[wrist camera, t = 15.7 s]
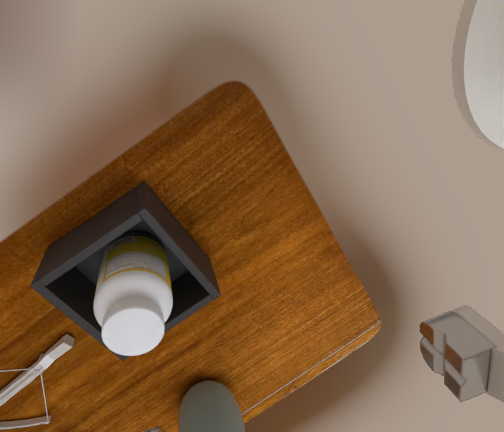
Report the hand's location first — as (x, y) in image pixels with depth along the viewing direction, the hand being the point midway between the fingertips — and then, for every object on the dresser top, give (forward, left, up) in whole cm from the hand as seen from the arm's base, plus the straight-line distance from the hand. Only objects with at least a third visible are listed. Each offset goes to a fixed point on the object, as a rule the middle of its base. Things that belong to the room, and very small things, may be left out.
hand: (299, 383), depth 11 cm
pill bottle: (+9, +9, -28) cm, 31 cm away
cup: (+8, +33, -29) cm, 45 cm away
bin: (+9, +9, -29) cm, 32 cm away
